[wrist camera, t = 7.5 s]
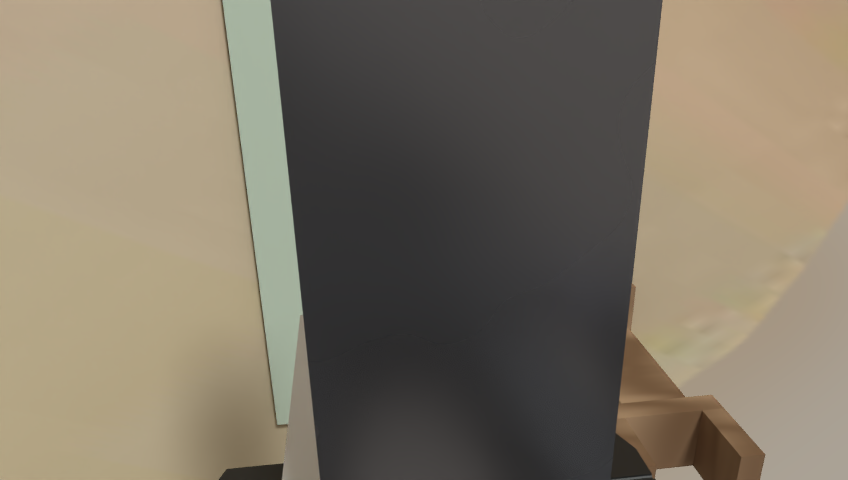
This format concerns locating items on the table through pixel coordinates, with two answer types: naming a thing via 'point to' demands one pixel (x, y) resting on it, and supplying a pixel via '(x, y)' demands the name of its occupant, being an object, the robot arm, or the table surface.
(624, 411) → the hook stand
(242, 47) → the mat
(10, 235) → the table surface
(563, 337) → the rail
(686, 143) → the table surface
